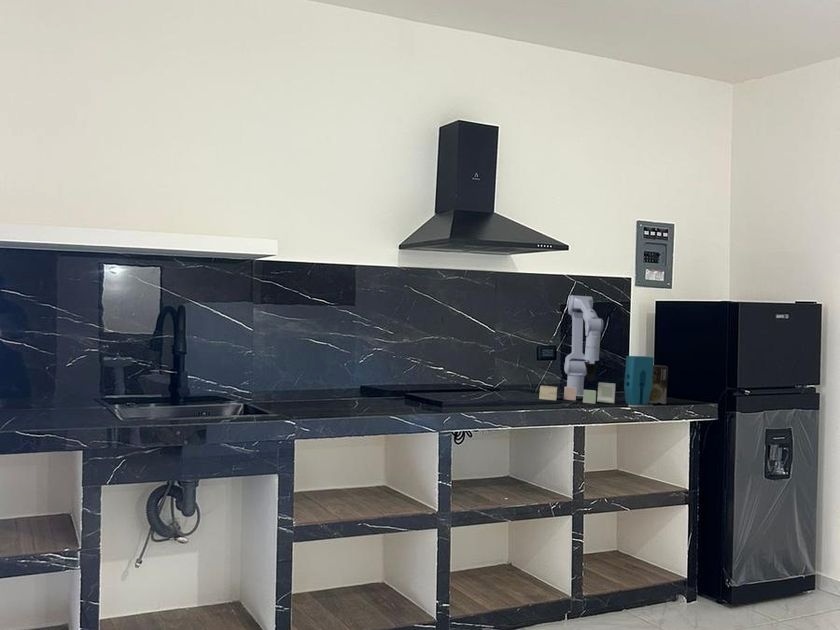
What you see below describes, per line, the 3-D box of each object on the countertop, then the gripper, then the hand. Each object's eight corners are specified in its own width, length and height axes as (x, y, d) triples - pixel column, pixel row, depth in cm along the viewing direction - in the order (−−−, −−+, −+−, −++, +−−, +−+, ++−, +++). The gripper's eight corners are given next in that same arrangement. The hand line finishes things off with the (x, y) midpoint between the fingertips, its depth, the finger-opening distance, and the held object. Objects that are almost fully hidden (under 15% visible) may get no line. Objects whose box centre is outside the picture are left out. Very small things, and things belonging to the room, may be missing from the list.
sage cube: (582, 401, 367) (583, 389, 367) (595, 402, 366) (595, 390, 366) (583, 402, 362) (583, 390, 362) (595, 403, 361) (596, 391, 361)
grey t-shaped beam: (597, 400, 372) (598, 381, 372) (613, 402, 371) (615, 383, 371) (597, 401, 368) (598, 382, 368) (614, 403, 367) (615, 384, 367)
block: (642, 402, 376) (646, 356, 375) (651, 404, 371) (654, 357, 371) (621, 403, 370) (625, 355, 369) (630, 404, 365) (633, 357, 365)
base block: (539, 397, 372) (540, 385, 372) (556, 398, 371) (557, 387, 371) (539, 399, 365) (539, 387, 365) (556, 400, 364) (556, 388, 364)
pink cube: (563, 398, 374) (564, 386, 374) (575, 399, 373) (576, 387, 373) (563, 399, 369) (564, 387, 369) (575, 400, 369) (576, 388, 368)
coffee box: (663, 402, 382) (666, 365, 381) (666, 404, 375) (668, 367, 375) (642, 401, 383) (644, 364, 382) (644, 402, 376) (647, 365, 376)
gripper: (582, 345, 371) (580, 377, 372) (583, 347, 357) (580, 380, 357) (599, 346, 370) (597, 378, 370) (600, 348, 356) (598, 382, 356)
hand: (590, 379), depth 364 cm, fingers open, 7 cm apart
